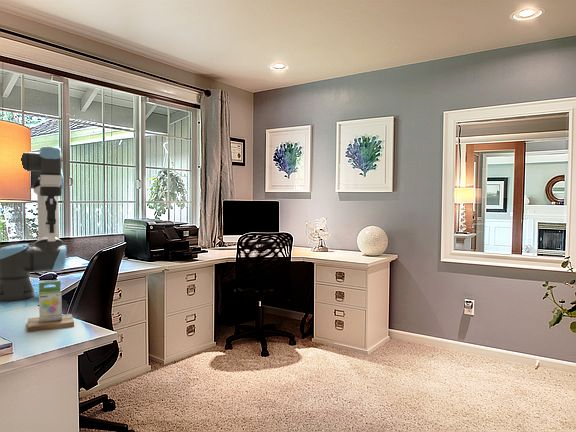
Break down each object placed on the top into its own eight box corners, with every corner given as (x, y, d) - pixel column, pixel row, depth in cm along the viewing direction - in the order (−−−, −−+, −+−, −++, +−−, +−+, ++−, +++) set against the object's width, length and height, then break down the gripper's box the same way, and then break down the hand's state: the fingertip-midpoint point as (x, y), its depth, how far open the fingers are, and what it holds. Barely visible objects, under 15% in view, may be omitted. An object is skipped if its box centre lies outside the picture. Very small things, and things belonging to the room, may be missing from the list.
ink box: (39, 323, 149) (38, 284, 149) (39, 320, 153) (38, 282, 152) (62, 320, 153) (61, 282, 152) (61, 317, 156) (61, 280, 156)
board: (28, 322, 155) (27, 318, 155) (71, 317, 162) (71, 313, 162) (27, 331, 144) (27, 327, 144) (73, 326, 151) (73, 322, 151)
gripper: (39, 185, 181) (40, 236, 182) (39, 186, 159) (40, 243, 160) (60, 186, 184) (60, 235, 186) (62, 186, 163) (63, 242, 164)
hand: (51, 239), depth 173 cm, fingers open, 13 cm apart
